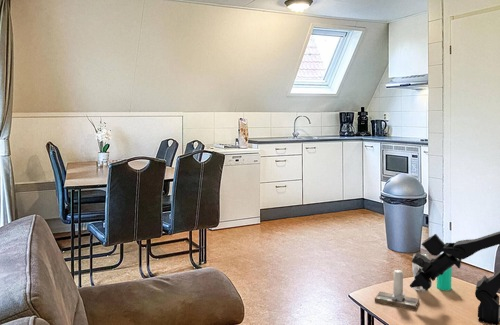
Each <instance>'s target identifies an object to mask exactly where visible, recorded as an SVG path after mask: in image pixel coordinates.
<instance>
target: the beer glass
mask: <svg viewBox="0 0 500 325" xmlns="http://www.w3.org/2000/svg"><path fill="white" fill-rule="evenodd" d="M420 254H421V255H423V256H425V257H427V258H428V259H429V260H430V256H429V255H428V254H425V253H420ZM415 255H416V253H413V255H412V259H413V258H414V256H415ZM411 263H412V264H411V265H412V266H411V267H412V275H413V280H414V279H415V275H416V273H417V272H418V270H419V269H421V270H422V268H423V267H420V266H419V265H417V264H414V263H413V262H412V261H411ZM412 290H415V291H418V292H427V291H428V290H425V289H424V288H423V287H422V286H420V287H413V289H412Z"/></svg>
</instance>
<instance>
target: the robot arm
mask: <svg viewBox="0 0 500 325" xmlns="http://www.w3.org/2000/svg"><path fill="white" fill-rule="evenodd" d="M421 245H422V247H423V248H424V249H425V250H426V251H427V252H428V254H430V255H431V256H435V258H431V259H430V258H429V259H428V258H427V257H425V256H423V255H421V254H422V253H419V252H416V253H415V254H416V255H415V256H414V258H413V257H412V260H411V263H412V262H413V263H414V264H417V265H419V266H420V267H423V268H422V270H421V269H419V270H418V272H417V273H416V275H415V279H414V278H413V280H412V281H411V283H410V284H409V287H410V288H413V287H420V286H422V287H423V288H424V289H425V290H427V291H429V289H431V287H432V282H434V281H435V280H437V277H438V276H439V275H442V274H443V273H444V272H445V271H446V270H448V269H449V268H450V267H453V266H456V267H457V268H458V269H460V268H461V266H462V260H465V259H468V258H470V257H471V256H473V255H474V254H476V253H477V252H479V251H482V250H485V249H488V248H492V247H495V246H498V245H500V230H499V231H496V232H494V233H491V234H488V235H485V236H481V237H478V238H475V239H473V238H472V239H470V238H469V239H462V240H457V241H455V242H444V241H443V240H442V239H441V238H440V237H439V236H438V234H437V233H435V234H432V235H431V236H429V237H428V238H426V239H425V240H424V241H423V242H422V243H421ZM499 290H500V269H499V270H498V271H497V272H496V273H495V274H493V275H492V276H489V277H487V276H486V275H484V276H483V277H482V278H481V279H480V280H478V281H477V282H476V287H475V292H474V294H475V297H476V299H477V300H478V301H479V305H478V307H477V317H478V319H477V320H478V322H481V323H484V324H489V325H499V324H500V296H499V295H498V292H499Z"/></svg>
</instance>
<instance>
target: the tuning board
mask: <svg viewBox="0 0 500 325" xmlns="http://www.w3.org/2000/svg"><path fill="white" fill-rule="evenodd" d="M393 294H394V293H389V292H385V291H378V293H377V295H376V296H375V297H374V302H375V303H379V304H383V305H388V306H389V305H390V306H392V307H393V306H394V307H397V308H398V307H400V308H404V309H409V310H417V307H418V305H419V304H420V298H416V297H412V296H411V297H410V296H406V295H404V298H403V300H402V301H398V300H397V301H395V300H393V299H392V295H393Z"/></svg>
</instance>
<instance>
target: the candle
mask: <svg viewBox="0 0 500 325" xmlns="http://www.w3.org/2000/svg"><path fill="white" fill-rule="evenodd" d="M452 267H453V266H452ZM452 267H450V268H449V269H448V270H446V271H445V272H444V273H443V274H442V275H439V276H438V277H436V289H438V290H440V291H451V290H452V271H453V268H452Z"/></svg>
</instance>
